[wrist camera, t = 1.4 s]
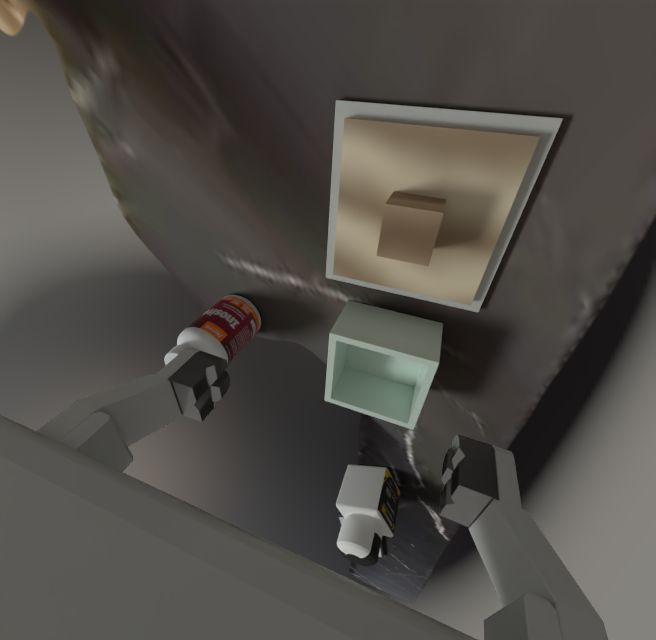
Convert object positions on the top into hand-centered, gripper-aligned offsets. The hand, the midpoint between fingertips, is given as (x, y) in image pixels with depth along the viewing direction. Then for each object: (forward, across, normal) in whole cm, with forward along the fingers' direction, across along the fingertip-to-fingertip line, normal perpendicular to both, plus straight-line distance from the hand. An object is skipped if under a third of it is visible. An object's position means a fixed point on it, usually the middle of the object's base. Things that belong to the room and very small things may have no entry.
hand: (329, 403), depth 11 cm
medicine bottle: (+22, -3, +43) cm, 49 cm away
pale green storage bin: (+21, 0, +14) cm, 25 cm away
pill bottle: (+21, +19, +15) cm, 32 cm away
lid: (+20, 0, -1) cm, 20 cm away
